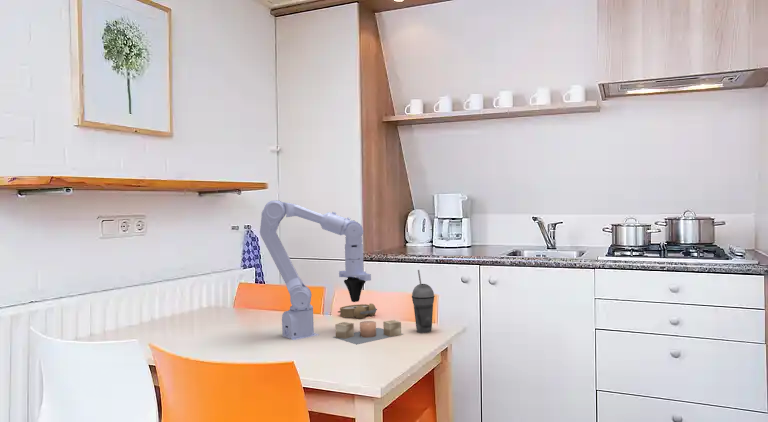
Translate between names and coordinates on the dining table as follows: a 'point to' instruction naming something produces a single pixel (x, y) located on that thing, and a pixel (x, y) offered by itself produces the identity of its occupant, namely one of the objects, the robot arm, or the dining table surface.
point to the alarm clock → (358, 310)
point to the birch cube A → (344, 330)
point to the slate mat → (359, 340)
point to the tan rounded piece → (368, 329)
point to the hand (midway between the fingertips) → (355, 301)
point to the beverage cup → (423, 306)
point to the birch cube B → (392, 328)
